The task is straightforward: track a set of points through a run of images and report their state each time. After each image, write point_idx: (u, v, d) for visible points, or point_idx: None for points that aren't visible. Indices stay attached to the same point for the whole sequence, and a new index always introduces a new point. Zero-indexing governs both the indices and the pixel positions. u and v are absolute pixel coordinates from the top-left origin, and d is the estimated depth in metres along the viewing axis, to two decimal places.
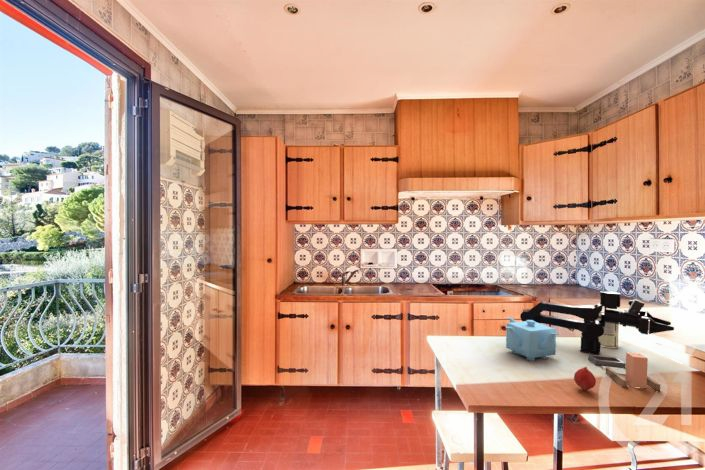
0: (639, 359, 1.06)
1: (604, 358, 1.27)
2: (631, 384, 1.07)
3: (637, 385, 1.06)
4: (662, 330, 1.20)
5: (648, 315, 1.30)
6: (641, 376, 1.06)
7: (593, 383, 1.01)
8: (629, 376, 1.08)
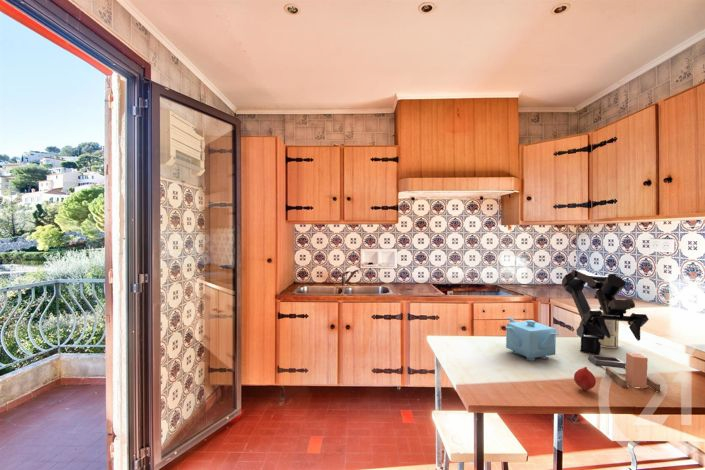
0: (639, 359, 1.06)
1: (604, 358, 1.27)
2: (631, 384, 1.07)
3: (637, 385, 1.06)
4: (601, 331, 1.19)
5: (635, 321, 1.17)
6: (641, 376, 1.06)
7: (593, 383, 1.01)
8: (629, 376, 1.08)
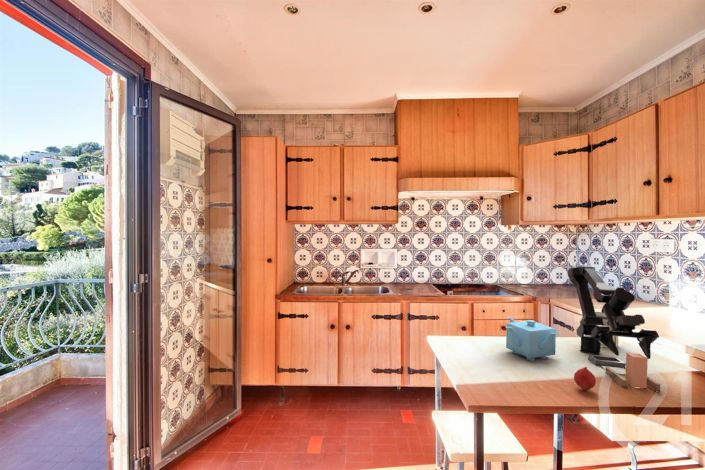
0: (639, 359, 1.06)
1: (604, 358, 1.27)
2: (631, 384, 1.07)
3: (637, 385, 1.06)
4: (609, 347, 1.14)
5: (644, 338, 1.11)
6: (641, 376, 1.06)
7: (593, 383, 1.01)
8: (629, 376, 1.08)
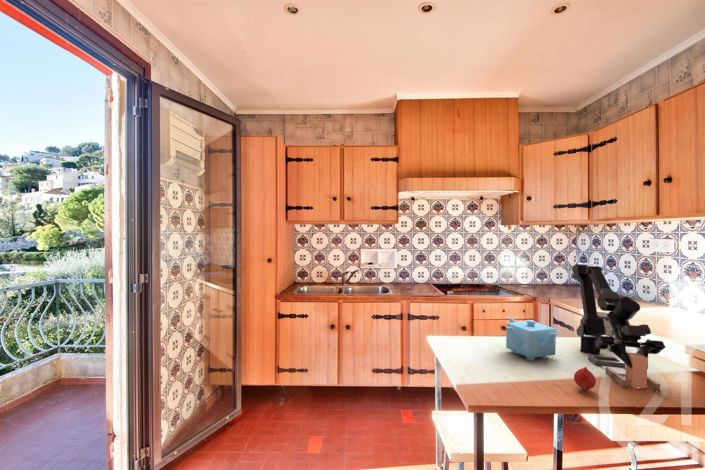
0: (639, 359, 1.06)
1: (604, 358, 1.27)
2: (631, 384, 1.07)
3: (637, 385, 1.06)
4: (622, 359, 1.10)
5: (642, 348, 1.09)
6: (641, 376, 1.06)
7: (593, 383, 1.01)
8: (629, 376, 1.08)
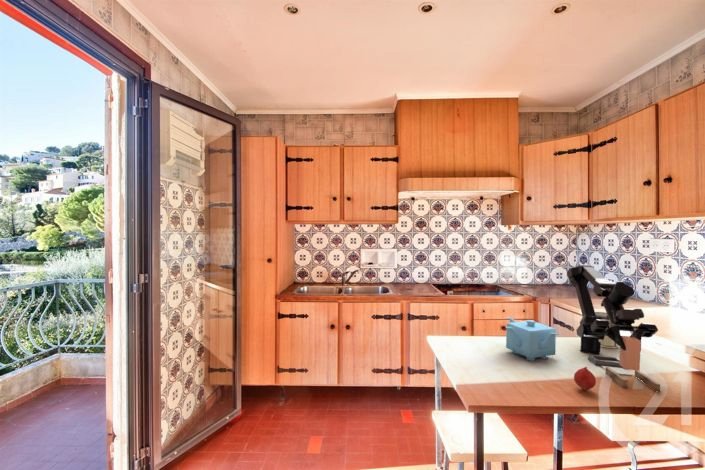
0: (633, 342, 1.09)
1: (604, 358, 1.27)
2: (625, 366, 1.10)
3: (630, 367, 1.10)
4: (616, 342, 1.14)
5: (635, 331, 1.12)
6: (634, 358, 1.09)
7: (593, 383, 1.01)
8: (622, 358, 1.12)
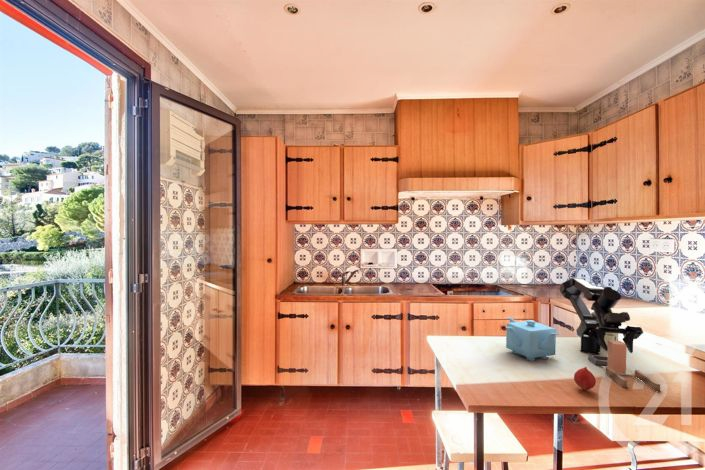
0: (619, 346, 1.17)
1: (604, 358, 1.27)
2: (612, 368, 1.18)
3: (617, 369, 1.17)
4: (599, 343, 1.22)
5: (628, 334, 1.20)
6: (621, 361, 1.17)
7: (593, 383, 1.01)
8: (610, 362, 1.19)
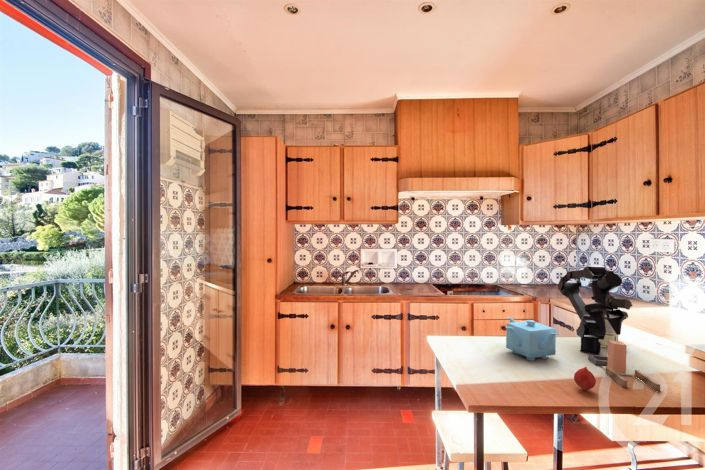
0: (619, 346, 1.17)
1: (604, 358, 1.27)
2: (612, 368, 1.18)
3: (617, 369, 1.17)
4: (597, 322, 1.25)
5: (619, 317, 1.27)
6: (621, 361, 1.17)
7: (593, 383, 1.01)
8: (610, 362, 1.19)
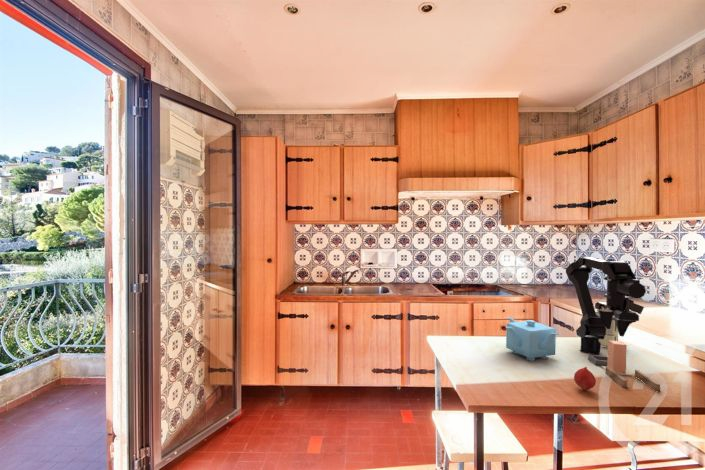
0: (619, 346, 1.17)
1: (604, 358, 1.27)
2: (612, 368, 1.18)
3: (617, 369, 1.17)
4: (620, 328, 1.19)
5: (613, 313, 1.29)
6: (621, 361, 1.17)
7: (593, 383, 1.01)
8: (610, 362, 1.19)
